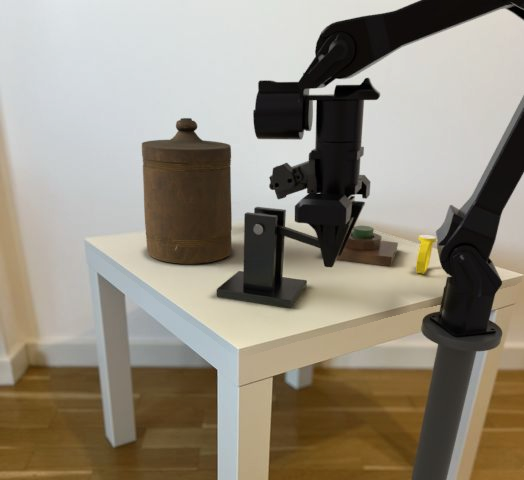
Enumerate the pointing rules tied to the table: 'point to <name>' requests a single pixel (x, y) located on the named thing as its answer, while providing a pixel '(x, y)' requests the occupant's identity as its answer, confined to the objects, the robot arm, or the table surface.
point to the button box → (369, 250)
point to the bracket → (263, 264)
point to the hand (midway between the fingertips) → (333, 260)
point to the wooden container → (187, 197)
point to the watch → (424, 252)
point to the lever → (296, 235)
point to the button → (363, 232)
